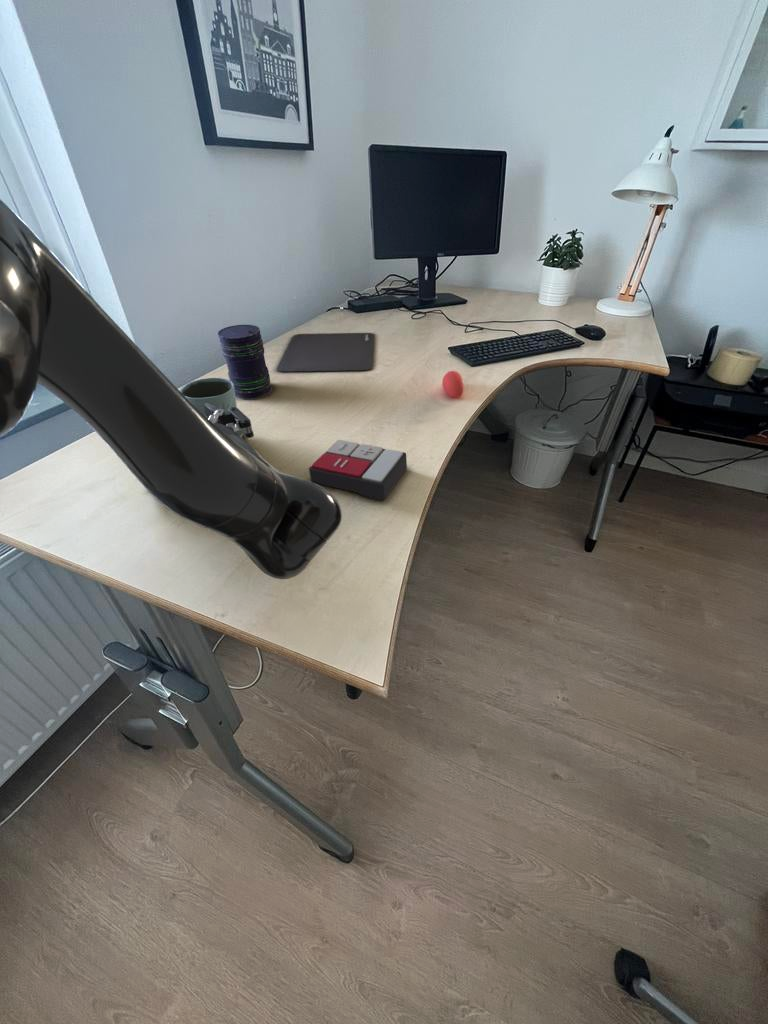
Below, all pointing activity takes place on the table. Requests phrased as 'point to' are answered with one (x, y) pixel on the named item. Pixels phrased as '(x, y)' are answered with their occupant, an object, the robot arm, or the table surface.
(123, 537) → the table surface
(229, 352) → the storage jar
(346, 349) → the mouse pad
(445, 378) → the stress ball
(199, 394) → the pale blue ceramic cylinder
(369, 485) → the calculator
